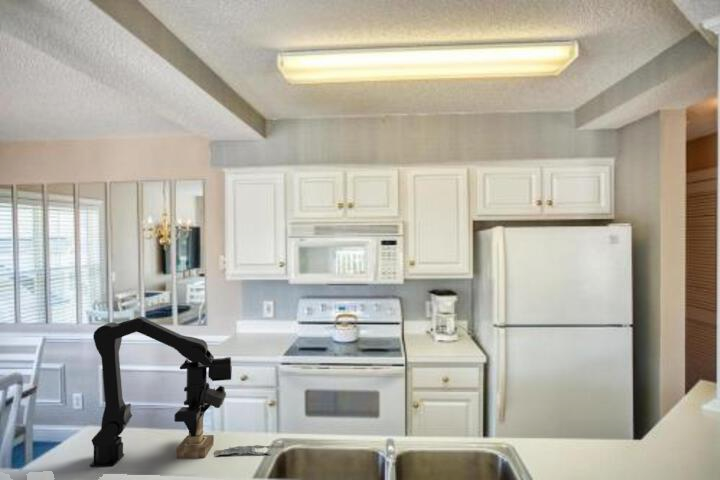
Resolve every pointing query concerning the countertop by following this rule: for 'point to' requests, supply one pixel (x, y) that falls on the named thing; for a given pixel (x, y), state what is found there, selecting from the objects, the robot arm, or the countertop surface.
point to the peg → (197, 433)
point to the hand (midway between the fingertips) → (195, 433)
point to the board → (195, 448)
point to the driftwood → (245, 450)
